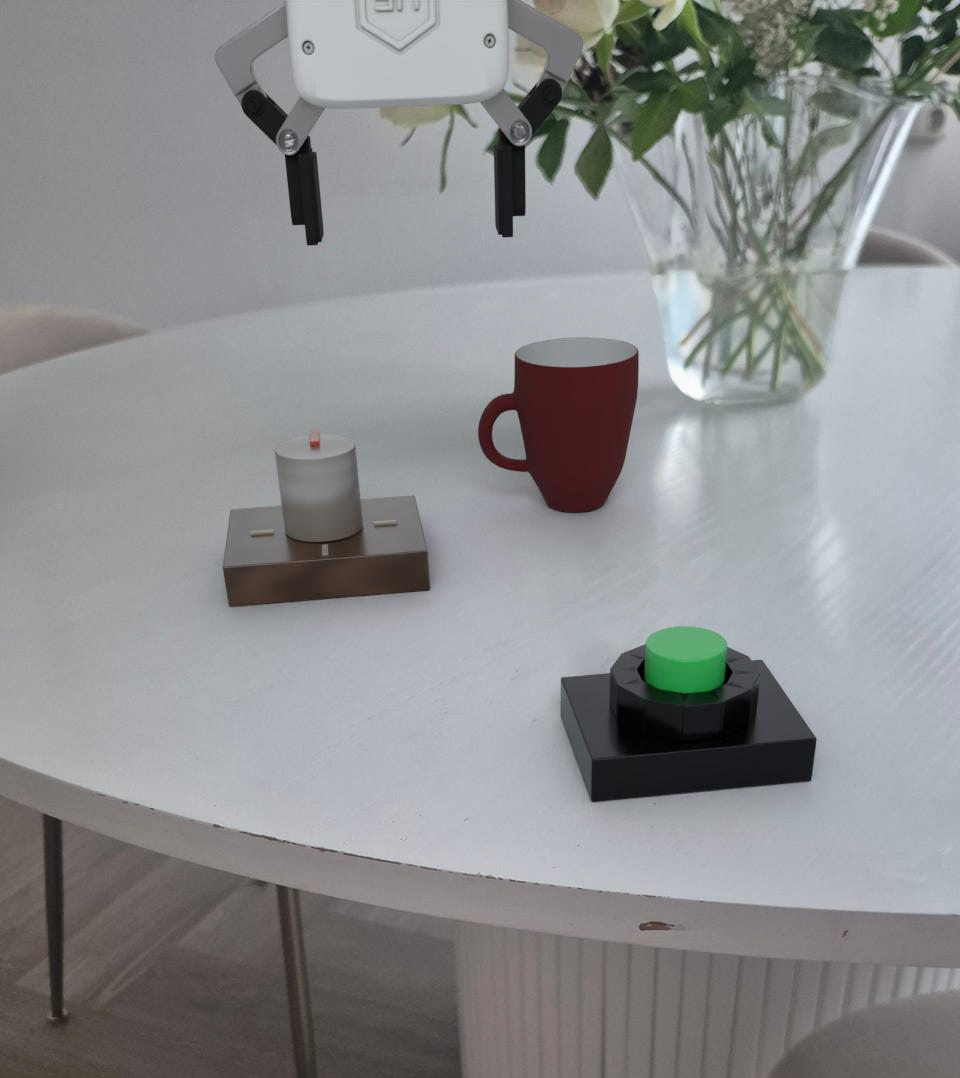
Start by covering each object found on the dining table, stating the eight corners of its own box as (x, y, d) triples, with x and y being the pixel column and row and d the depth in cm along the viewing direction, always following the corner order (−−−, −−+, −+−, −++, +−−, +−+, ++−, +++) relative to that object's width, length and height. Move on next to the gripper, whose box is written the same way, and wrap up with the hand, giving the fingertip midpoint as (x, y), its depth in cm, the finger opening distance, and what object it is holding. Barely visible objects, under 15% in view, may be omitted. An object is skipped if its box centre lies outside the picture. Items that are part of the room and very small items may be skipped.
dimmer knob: (364, 538, 76) (356, 450, 73) (284, 545, 76) (273, 456, 73) (361, 511, 80) (353, 427, 77) (285, 517, 80) (274, 432, 76)
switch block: (591, 802, 55) (592, 723, 53) (560, 716, 62) (560, 642, 60) (811, 781, 56) (822, 701, 54) (758, 698, 63) (765, 624, 60)
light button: (654, 700, 55) (655, 664, 54) (636, 664, 58) (637, 629, 57) (734, 692, 56) (737, 656, 55) (712, 657, 59) (714, 622, 58)
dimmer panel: (228, 607, 75) (221, 564, 73) (235, 546, 83) (229, 506, 81) (430, 590, 76) (427, 547, 74) (417, 531, 84) (414, 492, 82)
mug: (493, 532, 83) (487, 375, 77) (473, 493, 90) (467, 345, 84) (648, 517, 84) (654, 361, 79) (618, 479, 91) (621, 333, 85)
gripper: (171, -203, 51) (231, 257, 61) (596, -217, 52) (588, 242, 61) (196, -183, 57) (247, 232, 67) (575, -195, 58) (571, 219, 67)
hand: (410, 237), depth 64 cm, fingers open, 9 cm apart
